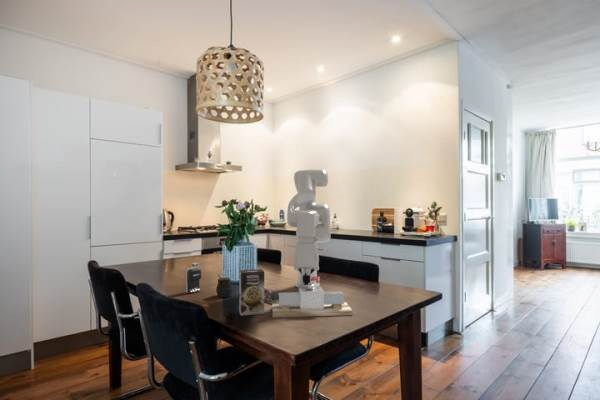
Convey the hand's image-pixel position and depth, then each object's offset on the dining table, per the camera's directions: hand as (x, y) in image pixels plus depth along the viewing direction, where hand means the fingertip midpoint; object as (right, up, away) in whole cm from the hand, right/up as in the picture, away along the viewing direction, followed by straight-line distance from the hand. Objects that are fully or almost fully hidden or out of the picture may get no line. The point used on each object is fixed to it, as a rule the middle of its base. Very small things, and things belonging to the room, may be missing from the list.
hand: (306, 284), depth 147 cm
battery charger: (-53, -9, +19) cm, 57 cm away
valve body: (+2, -6, -11) cm, 13 cm away
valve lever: (+3, +1, -5) cm, 6 cm away
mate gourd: (-38, -9, +12) cm, 40 cm away
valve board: (+2, -8, -11) cm, 14 cm away
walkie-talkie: (-17, -9, +7) cm, 21 cm away
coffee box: (-21, -8, -12) cm, 26 cm away
